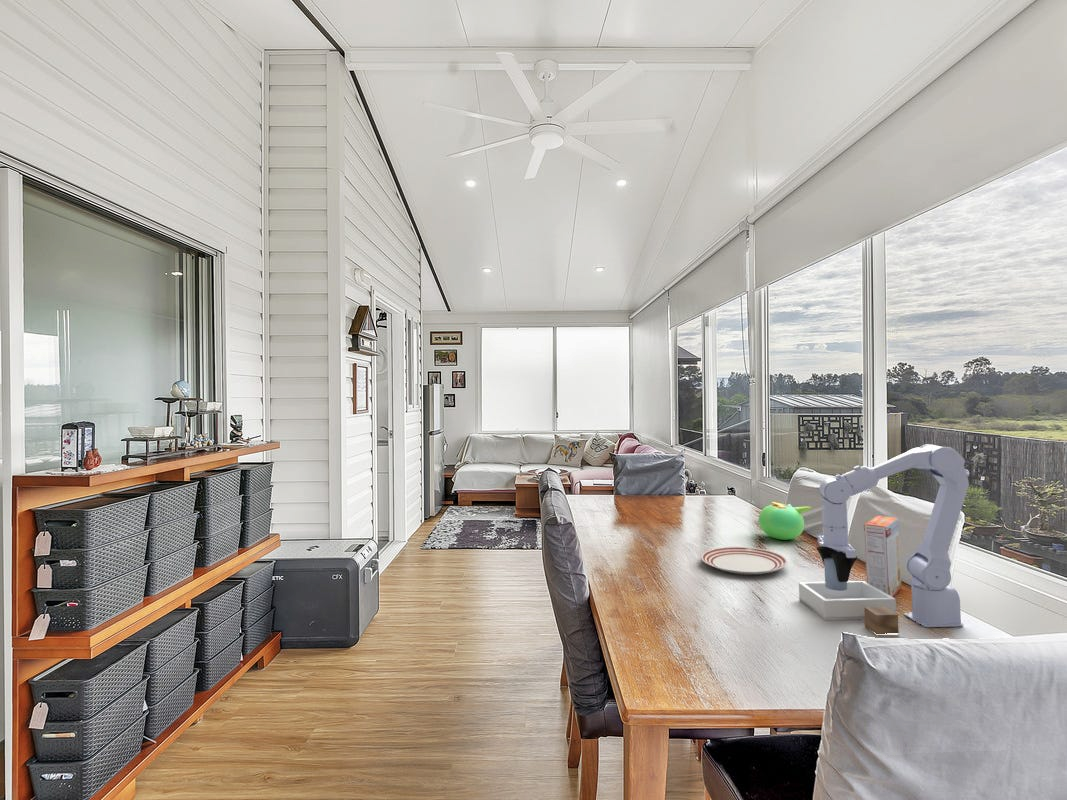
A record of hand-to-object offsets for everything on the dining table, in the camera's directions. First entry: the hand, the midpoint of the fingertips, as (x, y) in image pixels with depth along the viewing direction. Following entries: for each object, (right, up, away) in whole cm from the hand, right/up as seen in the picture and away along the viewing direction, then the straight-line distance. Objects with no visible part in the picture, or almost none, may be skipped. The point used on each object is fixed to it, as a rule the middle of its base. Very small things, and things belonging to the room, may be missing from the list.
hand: (837, 577), depth 141 cm
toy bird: (+21, -10, +77) cm, 80 cm away
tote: (+5, -10, +4) cm, 12 cm away
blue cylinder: (0, -2, 0) cm, 2 cm away
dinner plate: (-7, -11, +44) cm, 46 cm away
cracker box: (+22, -9, +15) cm, 28 cm away
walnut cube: (+5, -10, -10) cm, 15 cm away
